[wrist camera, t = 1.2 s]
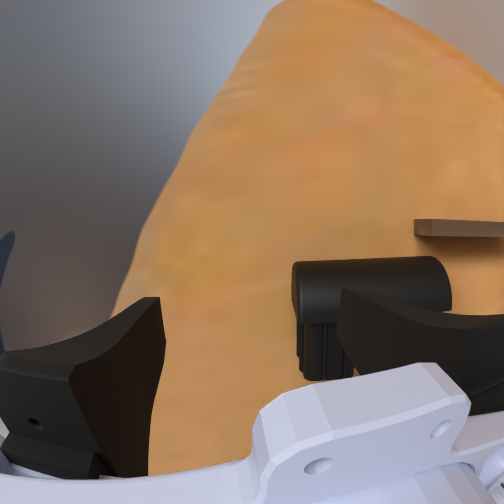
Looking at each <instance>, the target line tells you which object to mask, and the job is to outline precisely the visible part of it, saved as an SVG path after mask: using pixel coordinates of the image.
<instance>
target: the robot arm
mask: <svg viewBox="0 0 504 504" xmlns="http://www.w3.org/2000/svg"><path fill="white" fill-rule="evenodd" d="M336 332H337V335H338V337H339V340H340V342H341V344H342V347H343V349H344V351H345V352H346V354H347V355H348V357H349V359H350V360H351V362H352V363H353V365H354V367H355V368H356V370H357V371H358V373H359V374H360V376H357V377H352V378H346V379H341V380H335V381H328V382H322V383H315V384H310V385H307V386H304V387H301V388H298V389H295V390H292V391H288V392H285V393H282V394H281V395H279V396H278V397H277V398H276V399H274V400H273V401H272V402H270V403H269V404H268V405H266V406H265V407H264V408H262V409H261V410H260V411H259V414H258V416H257V418H256V421H255V423H254V426H253V428H252V450H251V454H250V455H249V456H248V457H246V458H242V459H238V460H234V461H230V462H226V463H222V464H217V465H213V466H208V467H203V468H198V469H193V470H187V471H181V472H175V473H168V474H161V475H153V476H148V452H149V436H150V424H151V414H152V409H153V403H154V399H155V395H156V391H157V387H158V384H159V380H160V376H161V372H162V368H163V364H164V357H165V348H166V339H165V332H164V326H163V319H162V311H161V304H160V297H144V298H142V299H140V300H138V301H137V302H135V303H134V304H132V305H131V306H129V307H128V308H126V309H125V310H123V311H122V312H120V313H119V314H117V315H116V316H114V317H113V318H111V319H109V320H108V321H106V322H104V323H103V324H101V325H99V326H97V327H96V328H93V329H92V330H89V331H87V332H85V333H83V334H80V335H78V336H75V337H72V338H70V339H67V340H64V341H61V342H58V343H54V344H50V345H46V346H42V347H37V348H31V349H24V350H14V351H5V352H4V353H3V354H2V355H1V356H0V417H1V419H2V421H3V422H4V424H5V426H6V427H7V429H8V430H9V434H8V436H7V438H6V439H5V438H3V437H2V436H1V435H0V504H504V314H499V315H459V314H450V313H443V312H437V311H432V310H428V309H423V308H420V307H416V306H413V305H409V304H406V303H403V302H400V301H397V300H394V299H391V298H389V297H386V296H383V295H381V294H378V293H375V292H372V291H369V290H366V289H363V288H359V287H347V288H341V297H340V306H339V314H338V322H337V329H336Z"/></svg>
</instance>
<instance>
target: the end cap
mask: <svg viewBox="0 0 504 504" xmlns="http://www.w3.org/2000/svg"><path fill="white" fill-rule="evenodd" d="M347 287H359V288H363V289H366V290H369V291H372V292H375V293H378V294H381V295H383V296H386V297H389V298H391V299H394V300H397V301H400V302H403V303H406V304H409V305H413V306H416V307H420V308H423V309H428V310H432V311H437V312H443V311H450V310H452V292H451V286H450V281H449V278H448V275H447V273H446V271H445V268H444V267H443V265H442V264H441V262H440V261H438V260H437V259H436V258H434V257H432V256H416V257H394V258H372V259H349V260H325V261H299V262H295V263H294V264H293V267H292V303H293V307H294V311H295V315H296V319H297V356H298V357H299V370H300V371H301V372H302V373H303V376H304V378H305V379H306V380H309V381H322V380H334V379H345V378H352V377H353V373H354V365H353V363H352V362H351V360H350V359H349V357H348V355H347V354H346V352H345V351H344V349H343V347H342V344H341V342H340V340H339V337H338V335H337V332H336V329H337V322H338V314H339V306H340V297H341V288H347Z"/></svg>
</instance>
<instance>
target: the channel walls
mask: <svg viewBox="0 0 504 504" xmlns="http://www.w3.org/2000/svg"><path fill="white" fill-rule="evenodd" d="M414 234H415V235H425V236H465V237H504V222H488V221H467V220H443V219H414Z"/></svg>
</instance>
